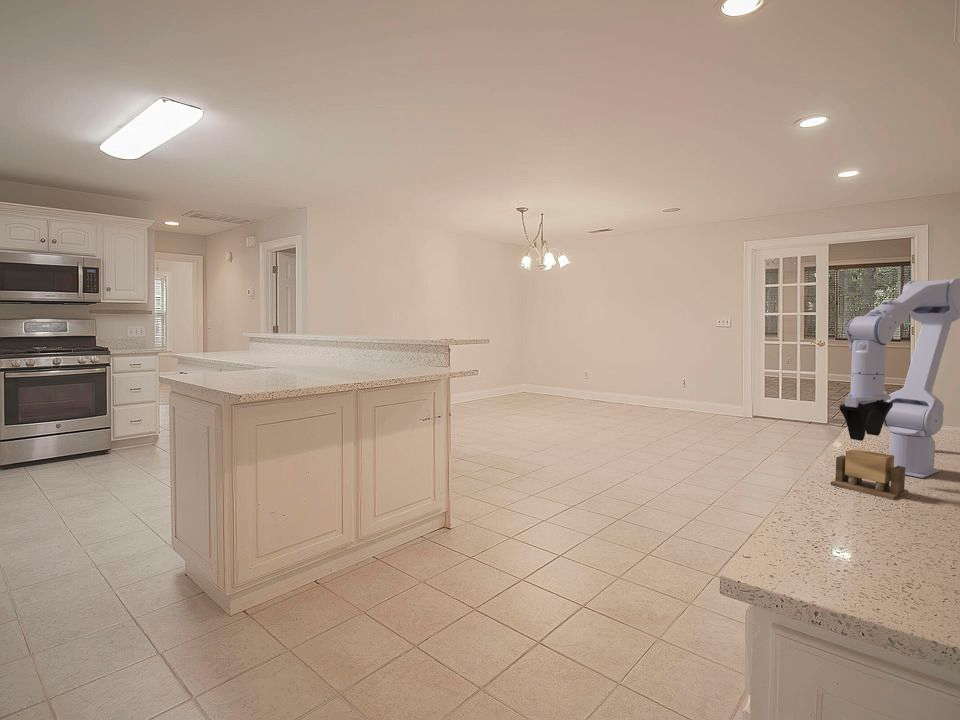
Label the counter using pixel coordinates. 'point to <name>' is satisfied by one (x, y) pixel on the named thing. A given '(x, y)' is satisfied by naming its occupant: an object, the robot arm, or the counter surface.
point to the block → (869, 465)
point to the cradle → (871, 487)
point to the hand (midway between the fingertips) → (864, 437)
